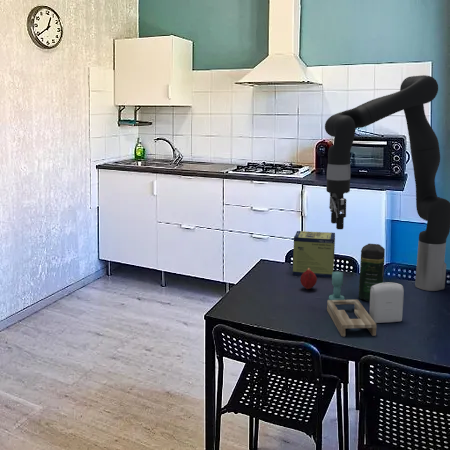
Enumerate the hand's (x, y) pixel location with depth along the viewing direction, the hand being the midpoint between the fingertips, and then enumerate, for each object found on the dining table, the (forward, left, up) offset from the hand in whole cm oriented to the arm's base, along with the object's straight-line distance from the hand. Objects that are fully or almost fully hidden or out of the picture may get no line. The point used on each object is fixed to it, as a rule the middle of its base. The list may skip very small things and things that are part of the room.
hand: (337, 226), depth 182 cm
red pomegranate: (+7, -11, -26) cm, 29 cm away
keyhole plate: (-1, +19, -26) cm, 32 cm away
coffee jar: (-13, -2, -26) cm, 29 cm away
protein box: (+1, -30, -26) cm, 40 cm away
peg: (-1, +1, -26) cm, 26 cm away
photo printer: (-12, +19, -26) cm, 34 cm away
